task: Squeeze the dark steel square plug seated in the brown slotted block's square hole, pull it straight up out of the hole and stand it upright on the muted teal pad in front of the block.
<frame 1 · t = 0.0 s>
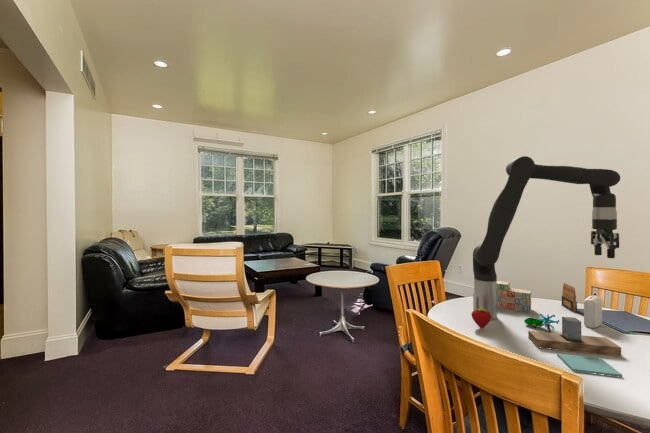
hand: (604, 256, 122), 29 cm above the table, tool pointing down, fingers open, 8 cm apart
steel plug: (571, 333, 104), in the brown slotted block
strawberry: (481, 328, 121), on the table
brown flat upright panel: (569, 309, 144), on the table
teal pad: (587, 365, 91), on the table
stack of blocks: (505, 307, 148), on the table
stick construction toy: (542, 329, 120), on the table
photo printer: (593, 325, 123), on the table
brown slotted block: (571, 346, 104), on the table
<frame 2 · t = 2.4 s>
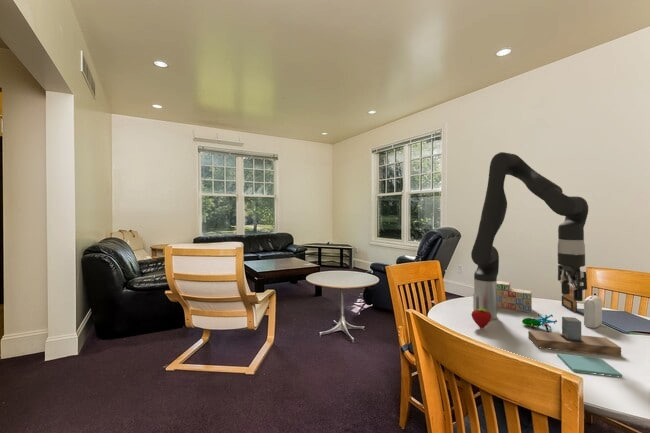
hand: (571, 297, 104), 18 cm above the table, tool pointing down, fingers open, 8 cm apart
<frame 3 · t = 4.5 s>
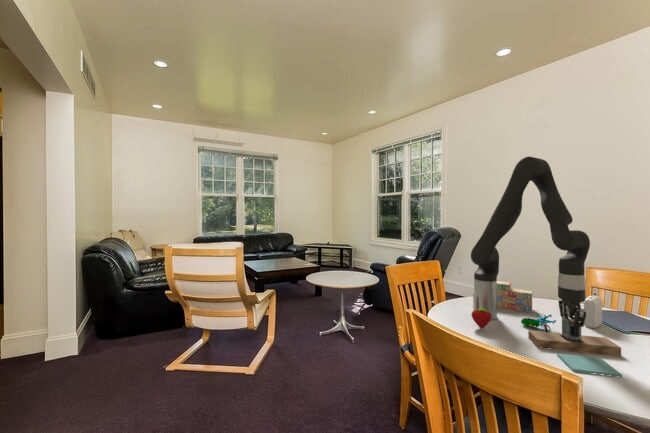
hand: (571, 333, 104), 5 cm above the table, tool pointing down, fingers closed on steel plug, 4 cm apart
steel plug: (571, 332, 104), in the brown slotted block, touching gripper
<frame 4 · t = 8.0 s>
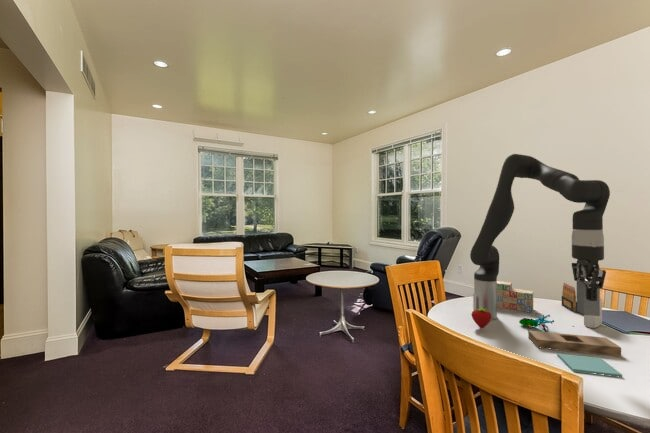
hand: (587, 298, 91), 21 cm above the table, tool pointing down, fingers closed on steel plug, 4 cm apart
steel plug: (587, 297, 91), point 22 cm above the table, touching gripper
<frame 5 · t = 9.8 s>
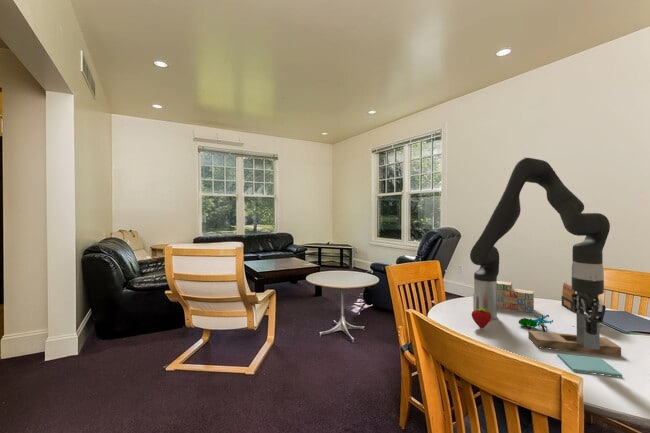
hand: (587, 330, 91), 11 cm above the table, tool pointing down, fingers closed on steel plug, 4 cm apart
steel plug: (587, 330, 91), point 11 cm above the table, touching gripper
when the fingers open (7 cm above the table, at t = 11.4 s): steel plug drops 2 cm, resting on teal pad.
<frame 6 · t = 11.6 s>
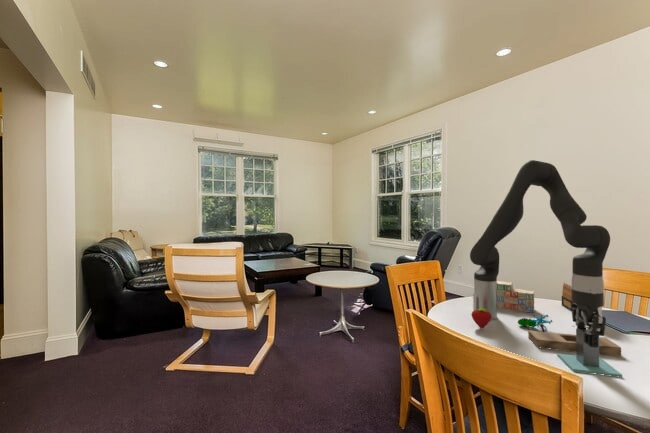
hand: (587, 342, 91), 7 cm above the table, tool pointing down, fingers open, 5 cm apart
steel plug: (587, 347, 91), on the teal pad, point 6 cm above the table
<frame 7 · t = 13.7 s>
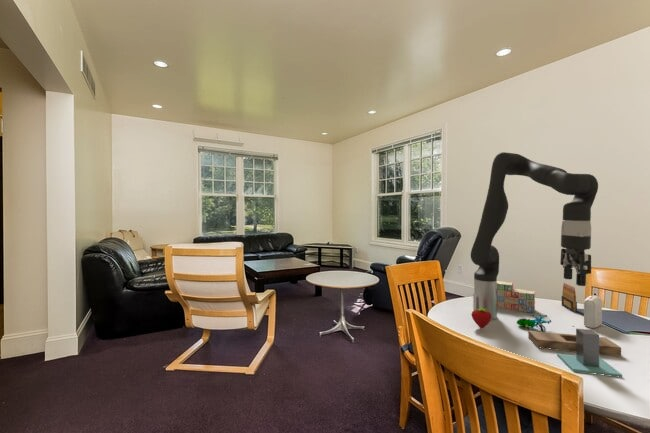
hand: (574, 282, 97), 25 cm above the table, tool pointing down, fingers open, 8 cm apart
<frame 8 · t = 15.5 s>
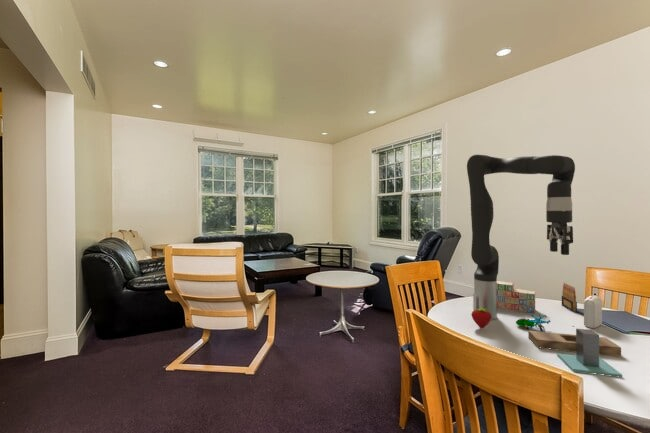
hand: (559, 253, 108), 33 cm above the table, tool pointing down, fingers open, 8 cm apart
at the end: steel plug inside the target area on the teal pad (0.1 cm from its centre), point 5.8 cm above the teal pad's base; steel plug tilted 0°; the gripper is holding nothing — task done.
